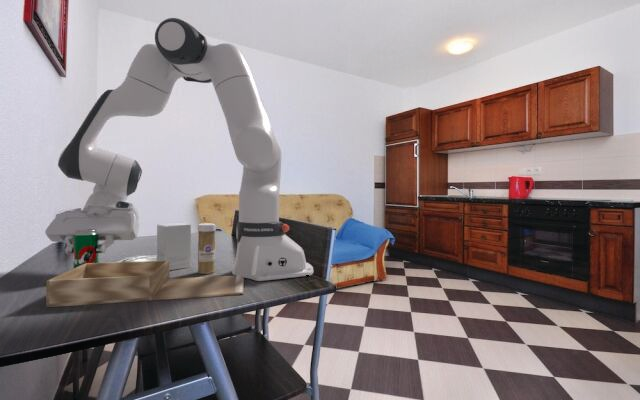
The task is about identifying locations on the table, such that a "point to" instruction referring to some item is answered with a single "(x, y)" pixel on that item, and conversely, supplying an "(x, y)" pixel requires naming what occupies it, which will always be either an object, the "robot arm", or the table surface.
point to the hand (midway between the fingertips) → (84, 252)
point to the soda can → (85, 247)
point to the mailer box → (132, 284)
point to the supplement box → (174, 244)
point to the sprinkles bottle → (206, 248)
